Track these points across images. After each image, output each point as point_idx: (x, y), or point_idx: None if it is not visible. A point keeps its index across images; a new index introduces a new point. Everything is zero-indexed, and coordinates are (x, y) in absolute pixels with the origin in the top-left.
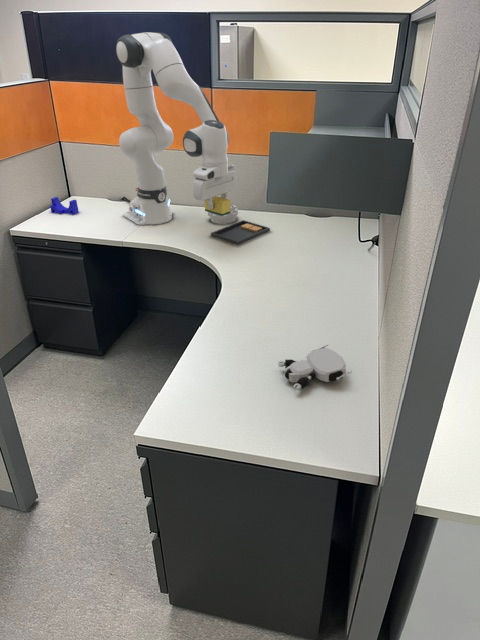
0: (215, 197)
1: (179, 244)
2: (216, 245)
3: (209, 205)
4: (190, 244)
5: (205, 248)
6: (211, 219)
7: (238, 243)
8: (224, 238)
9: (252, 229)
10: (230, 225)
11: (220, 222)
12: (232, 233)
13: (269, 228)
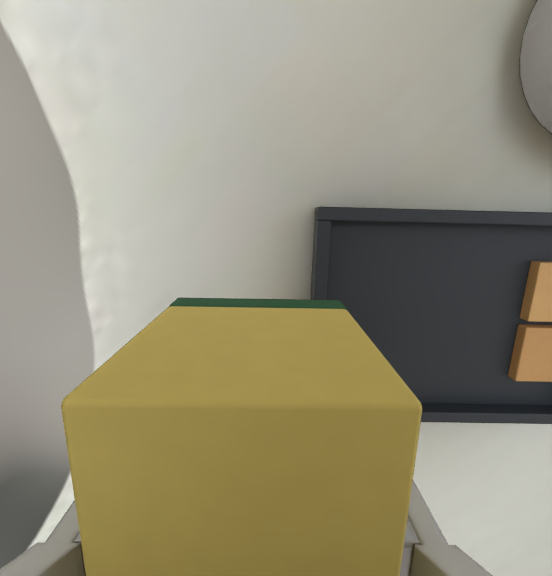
0: (311, 572)
1: (105, 132)
2: None
3: (67, 530)
4: (153, 189)
5: (174, 299)
6: None
7: None
8: None
9: (520, 354)
10: (503, 216)
11: (540, 92)
12: (421, 285)
13: None
